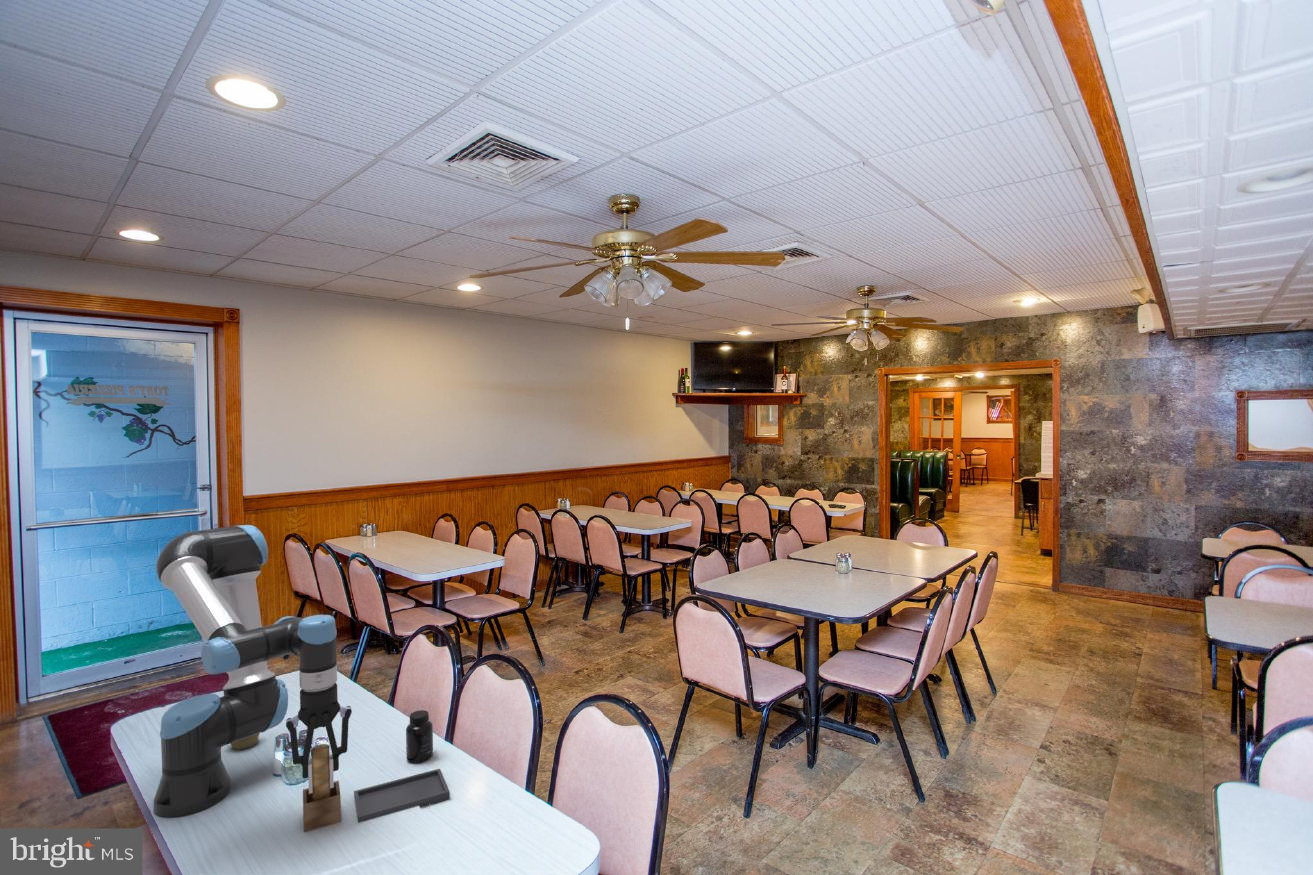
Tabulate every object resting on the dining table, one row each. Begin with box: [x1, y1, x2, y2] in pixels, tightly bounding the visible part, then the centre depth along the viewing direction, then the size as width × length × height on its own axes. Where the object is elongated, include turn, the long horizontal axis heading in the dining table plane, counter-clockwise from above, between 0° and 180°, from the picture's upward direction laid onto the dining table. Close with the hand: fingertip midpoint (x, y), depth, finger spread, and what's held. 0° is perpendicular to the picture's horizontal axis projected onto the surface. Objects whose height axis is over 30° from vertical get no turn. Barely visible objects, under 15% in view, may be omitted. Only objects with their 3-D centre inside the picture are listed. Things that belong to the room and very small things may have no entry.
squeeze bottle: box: [230, 733, 261, 750], centre depth 182 cm, size 8×8×18 cm
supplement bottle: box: [405, 709, 434, 764], centre depth 173 cm, size 7×7×12 cm
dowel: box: [310, 743, 330, 802], centre depth 146 cm, size 4×4×16 cm
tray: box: [353, 768, 451, 823], centre depth 154 cm, size 20×12×2 cm, turn 119°
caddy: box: [302, 780, 342, 833], centre depth 146 cm, size 7×7×6 cm
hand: (321, 787), depth 146 cm, fingers closed on dowel, 3 cm apart
